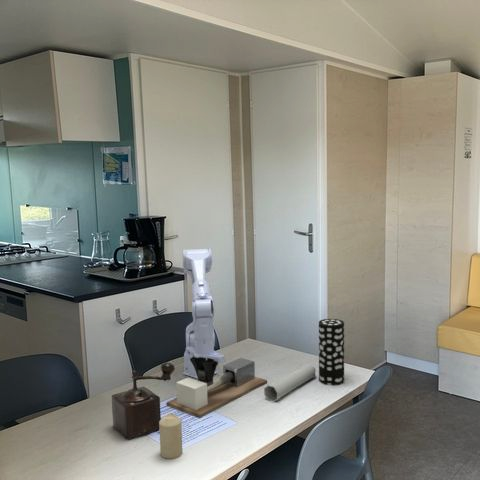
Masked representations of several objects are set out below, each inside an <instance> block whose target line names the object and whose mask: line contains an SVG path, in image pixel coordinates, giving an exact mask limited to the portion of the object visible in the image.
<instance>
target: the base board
mask: <svg viewBox="0 0 480 480" xmlns="http://www.w3.org/2000/svg"><path fill="white" fill-rule="evenodd" d="M267 383H268V379H265V378H261V377H258V376H255V379H253V380H251V381H249V382H247V383H245V384H243V385H241V386H239V387H235V386H231V385H228V384H224V385H222V386H220V387H218V388H216V389H214V390H211V391H209V392H207V399H208V404H207V405H205V406H203V407H201V408H199V409H197V410H194V409H192V408H189V407H186V406H184V405H181V404H178V403H177V397H175V398H173V399H171V400H168V401H166V406H167V407H170V408H173V409H175V410H178V411H180V412H184V413H186V414H188V415H191V416H193V417H196V418H198V419H200V418H203V417H204V416H206V415H208V414H210V413H212V412H214V411H216V410H218V409H220V408H222V407H224V406H225V405H228V404H230V403H231V402H233V401H235V400H237V399H239V398H241V397H243V396H245V395H247V394H249V393H250V392H253V391H254V390H257V389H258V388H260V387H263V386H264V385H267Z"/></svg>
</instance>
